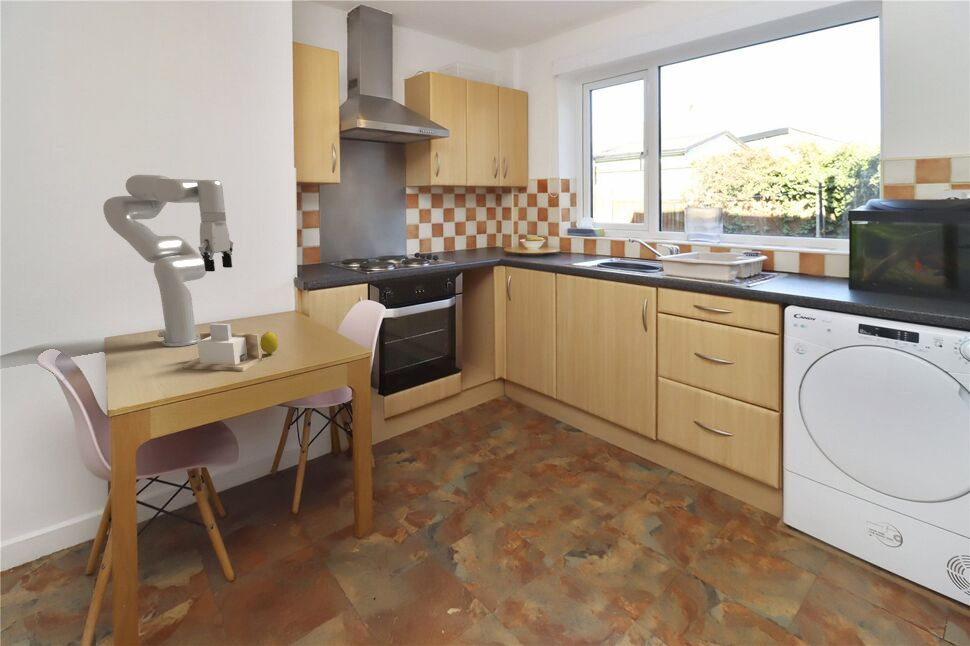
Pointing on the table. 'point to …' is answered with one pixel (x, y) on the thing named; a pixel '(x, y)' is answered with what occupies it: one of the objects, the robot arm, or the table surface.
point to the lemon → (269, 343)
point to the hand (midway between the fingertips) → (219, 269)
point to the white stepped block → (221, 346)
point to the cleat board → (222, 366)
